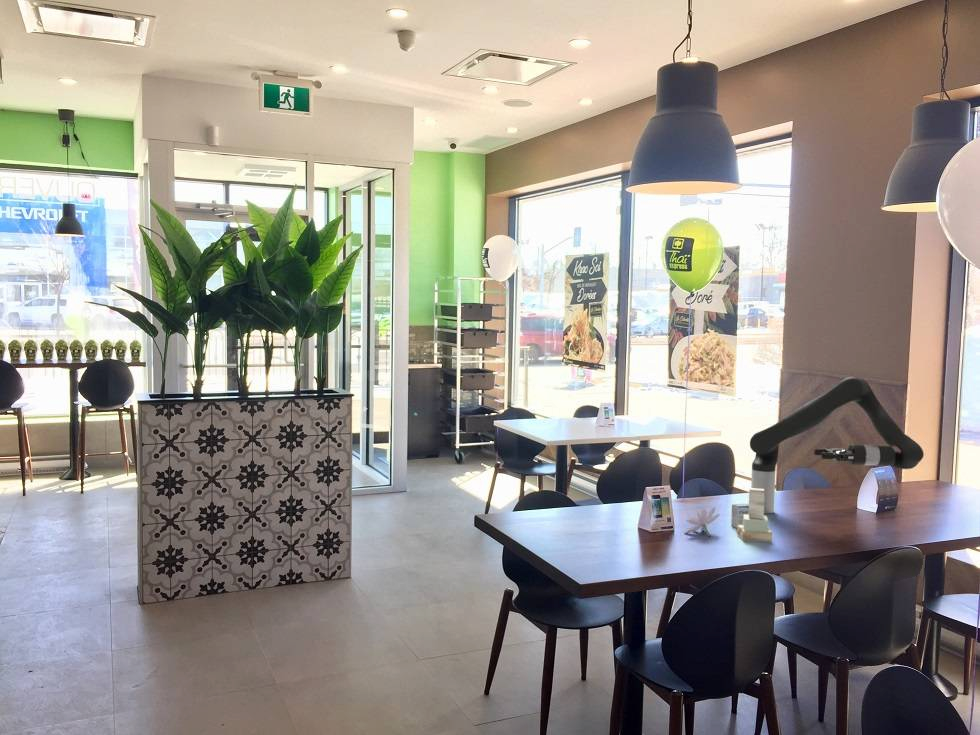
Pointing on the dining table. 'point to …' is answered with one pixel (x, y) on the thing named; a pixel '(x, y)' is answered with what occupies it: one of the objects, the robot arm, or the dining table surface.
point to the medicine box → (738, 514)
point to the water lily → (702, 520)
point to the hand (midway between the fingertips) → (818, 453)
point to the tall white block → (756, 503)
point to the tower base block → (753, 535)
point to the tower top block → (755, 524)
